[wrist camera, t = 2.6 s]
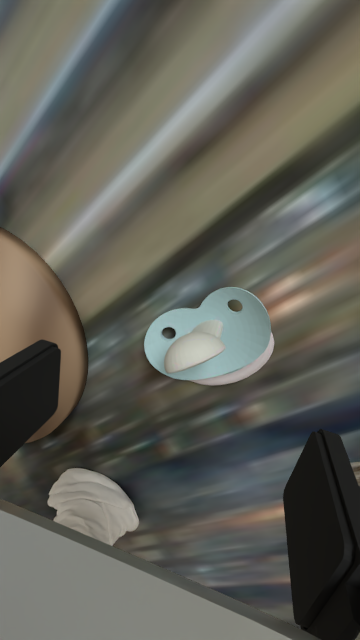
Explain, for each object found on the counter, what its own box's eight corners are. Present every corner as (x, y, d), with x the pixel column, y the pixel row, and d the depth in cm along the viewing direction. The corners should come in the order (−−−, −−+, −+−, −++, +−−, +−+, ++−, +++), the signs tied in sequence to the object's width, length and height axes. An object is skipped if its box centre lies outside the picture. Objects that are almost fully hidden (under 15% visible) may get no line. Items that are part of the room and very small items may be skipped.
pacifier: (292, 357, 18) (251, 268, 16) (309, 430, 12) (250, 303, 11) (187, 391, 20) (145, 317, 19) (162, 463, 15) (99, 365, 14)
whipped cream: (148, 477, 25) (130, 530, 21) (140, 535, 27) (121, 596, 23) (62, 454, 26) (26, 500, 22) (60, 512, 28) (26, 566, 24)
